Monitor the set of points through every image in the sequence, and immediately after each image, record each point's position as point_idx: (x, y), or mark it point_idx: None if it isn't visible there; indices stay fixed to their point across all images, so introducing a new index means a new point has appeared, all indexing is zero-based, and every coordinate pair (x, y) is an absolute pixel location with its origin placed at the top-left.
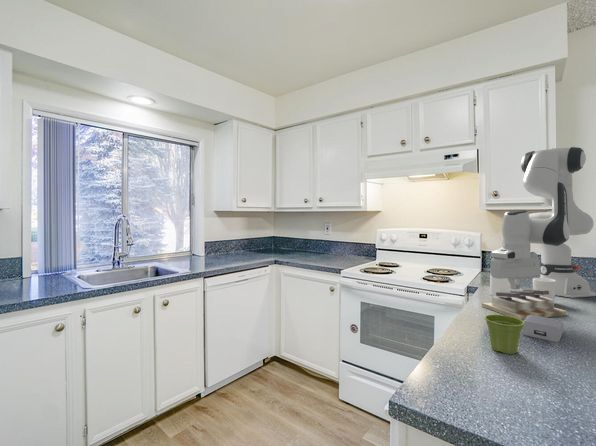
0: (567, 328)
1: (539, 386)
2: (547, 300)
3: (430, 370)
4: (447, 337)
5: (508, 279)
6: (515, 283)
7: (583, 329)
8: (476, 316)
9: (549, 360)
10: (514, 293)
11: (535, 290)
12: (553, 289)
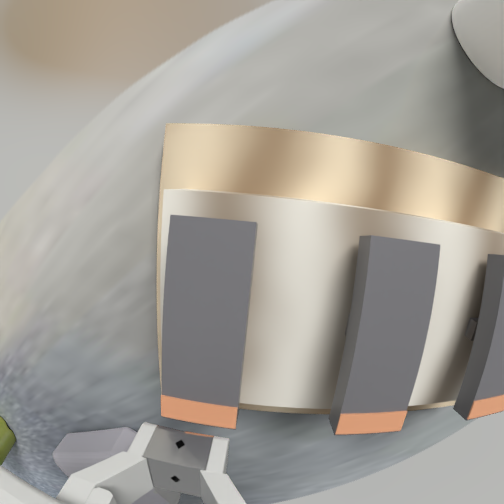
0: (257, 477)
1: (5, 467)
2: (441, 401)
3: None
4: None
5: (72, 480)
6: (139, 495)
7: (297, 489)
8: (31, 260)
9: (47, 476)
10: (169, 417)
11: (497, 354)
12: None
